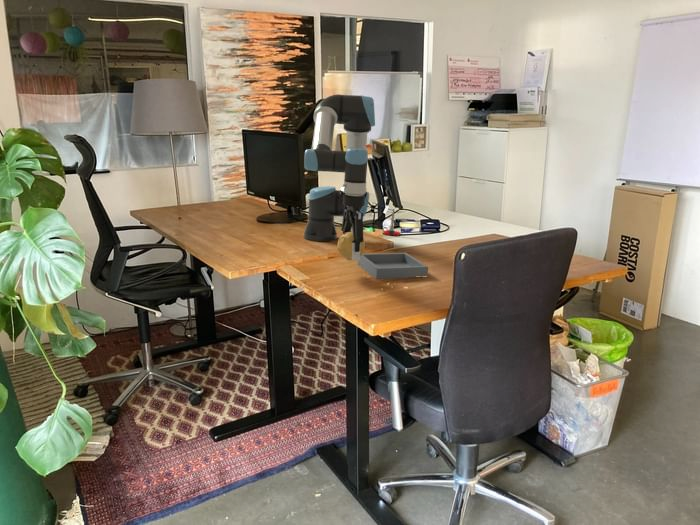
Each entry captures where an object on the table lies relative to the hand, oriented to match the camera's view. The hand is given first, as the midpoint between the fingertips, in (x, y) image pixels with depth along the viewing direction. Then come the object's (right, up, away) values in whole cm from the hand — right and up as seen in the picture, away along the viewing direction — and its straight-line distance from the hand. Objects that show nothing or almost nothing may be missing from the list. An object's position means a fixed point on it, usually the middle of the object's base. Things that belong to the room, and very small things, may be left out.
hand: (350, 255), depth 196 cm
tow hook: (+20, +11, +73) cm, 77 cm away
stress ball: (0, -1, 0) cm, 2 cm away
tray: (+15, -5, +11) cm, 20 cm away
